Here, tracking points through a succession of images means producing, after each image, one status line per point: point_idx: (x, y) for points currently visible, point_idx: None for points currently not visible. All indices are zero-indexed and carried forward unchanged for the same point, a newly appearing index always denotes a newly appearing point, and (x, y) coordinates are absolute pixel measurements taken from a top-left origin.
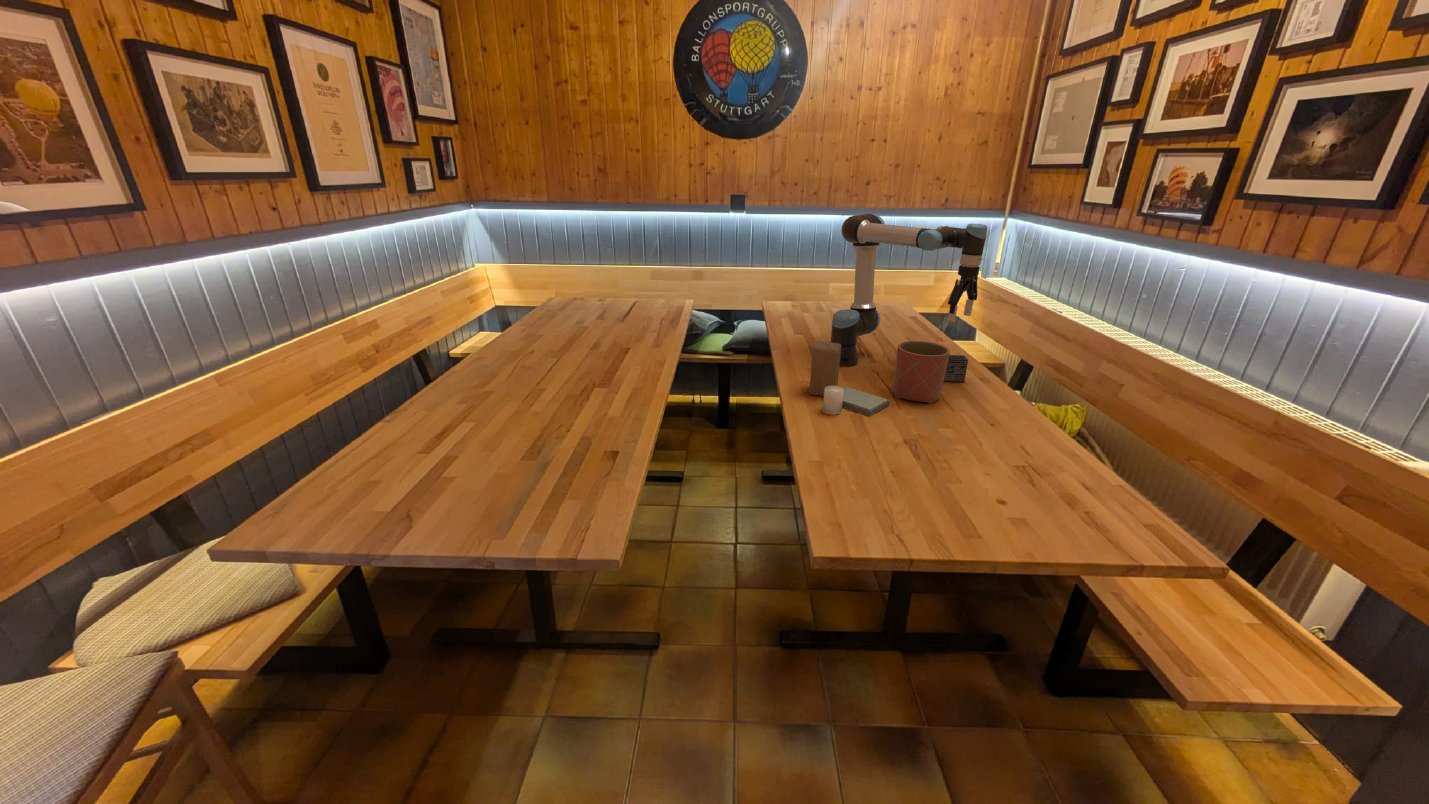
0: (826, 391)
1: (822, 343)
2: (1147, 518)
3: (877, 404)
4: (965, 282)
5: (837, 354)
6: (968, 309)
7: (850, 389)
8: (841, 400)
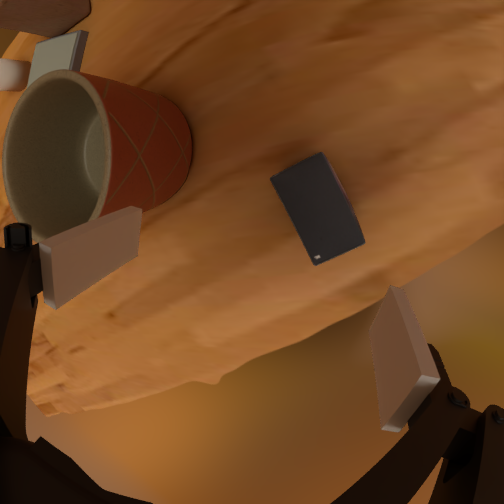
0: None
1: None
2: (58, 408)
3: None
4: None
5: None
6: (383, 344)
7: (69, 44)
8: (1, 90)
